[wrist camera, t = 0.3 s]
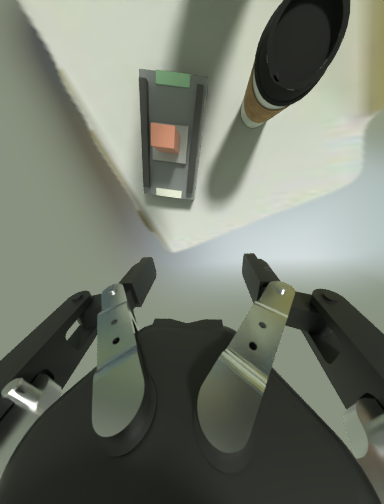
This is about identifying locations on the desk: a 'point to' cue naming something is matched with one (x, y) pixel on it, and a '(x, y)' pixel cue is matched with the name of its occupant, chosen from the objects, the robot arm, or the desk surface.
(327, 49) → the coffee cup
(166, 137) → the handle
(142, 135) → the switch box
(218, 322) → the robot arm
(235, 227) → the desk surface
